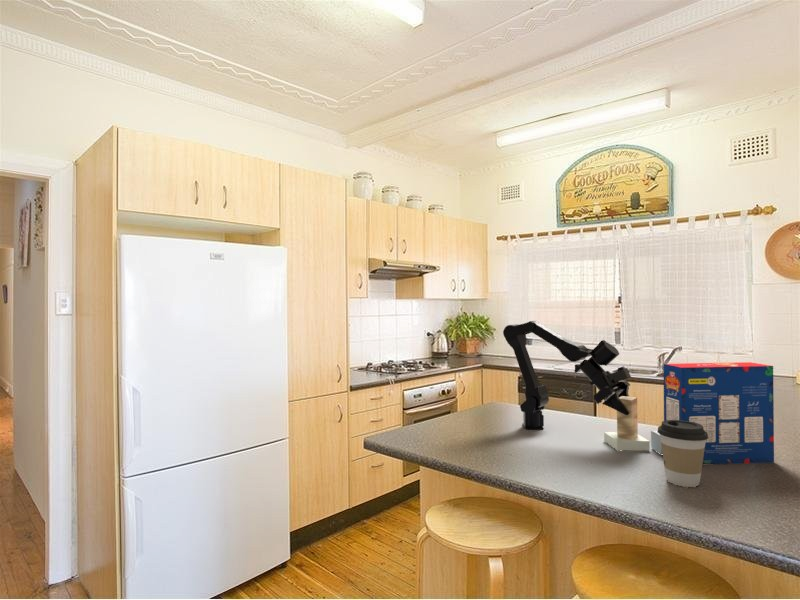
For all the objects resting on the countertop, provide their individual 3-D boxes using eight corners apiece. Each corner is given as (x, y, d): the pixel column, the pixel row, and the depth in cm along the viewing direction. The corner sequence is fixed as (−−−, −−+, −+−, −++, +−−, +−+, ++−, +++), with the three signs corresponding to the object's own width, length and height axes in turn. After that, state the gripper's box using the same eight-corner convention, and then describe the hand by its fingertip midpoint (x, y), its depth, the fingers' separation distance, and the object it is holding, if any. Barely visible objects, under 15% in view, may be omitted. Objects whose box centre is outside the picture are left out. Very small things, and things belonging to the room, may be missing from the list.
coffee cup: (662, 471, 128) (661, 416, 128) (711, 480, 121) (711, 423, 121) (653, 483, 120) (652, 425, 120) (706, 495, 112) (705, 432, 112)
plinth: (617, 452, 146) (617, 441, 146) (604, 442, 156) (604, 432, 156) (649, 452, 145) (649, 441, 145) (634, 442, 155) (634, 432, 155)
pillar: (617, 437, 150) (616, 398, 150) (623, 433, 154) (622, 395, 154) (632, 440, 147) (631, 400, 147) (637, 436, 151) (637, 397, 151)
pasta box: (751, 453, 143) (750, 362, 143) (774, 462, 135) (773, 365, 135) (664, 456, 141) (663, 363, 141) (682, 465, 133) (681, 367, 133)
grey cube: (661, 455, 141) (661, 436, 141) (651, 449, 147) (651, 430, 147) (681, 455, 141) (681, 435, 141) (670, 449, 147) (670, 430, 147)
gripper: (603, 361, 146) (641, 402, 139) (623, 356, 160) (659, 393, 152) (578, 383, 152) (614, 423, 144) (600, 377, 165) (633, 413, 158)
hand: (631, 412), depth 149 cm, fingers open, 6 cm apart
